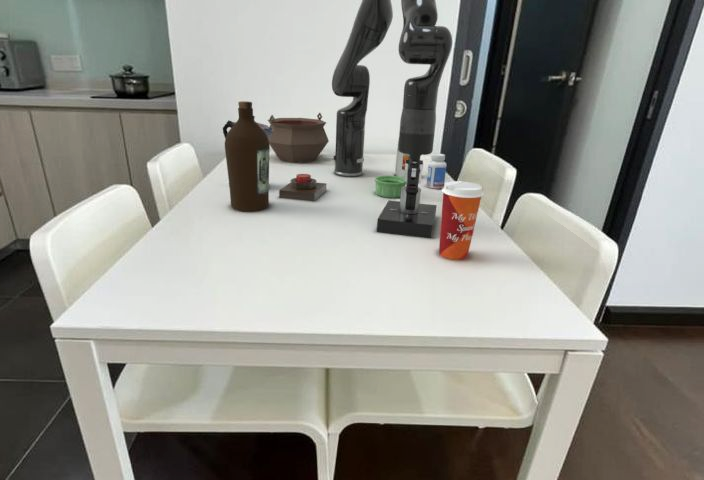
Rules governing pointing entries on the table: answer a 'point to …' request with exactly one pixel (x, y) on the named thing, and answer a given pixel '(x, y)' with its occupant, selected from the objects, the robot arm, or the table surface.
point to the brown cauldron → (297, 138)
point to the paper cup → (458, 218)
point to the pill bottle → (436, 171)
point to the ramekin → (389, 186)
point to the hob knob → (403, 201)
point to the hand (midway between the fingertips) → (410, 206)
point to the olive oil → (247, 162)
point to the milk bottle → (400, 163)
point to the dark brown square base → (303, 190)
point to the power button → (303, 178)
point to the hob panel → (407, 220)
